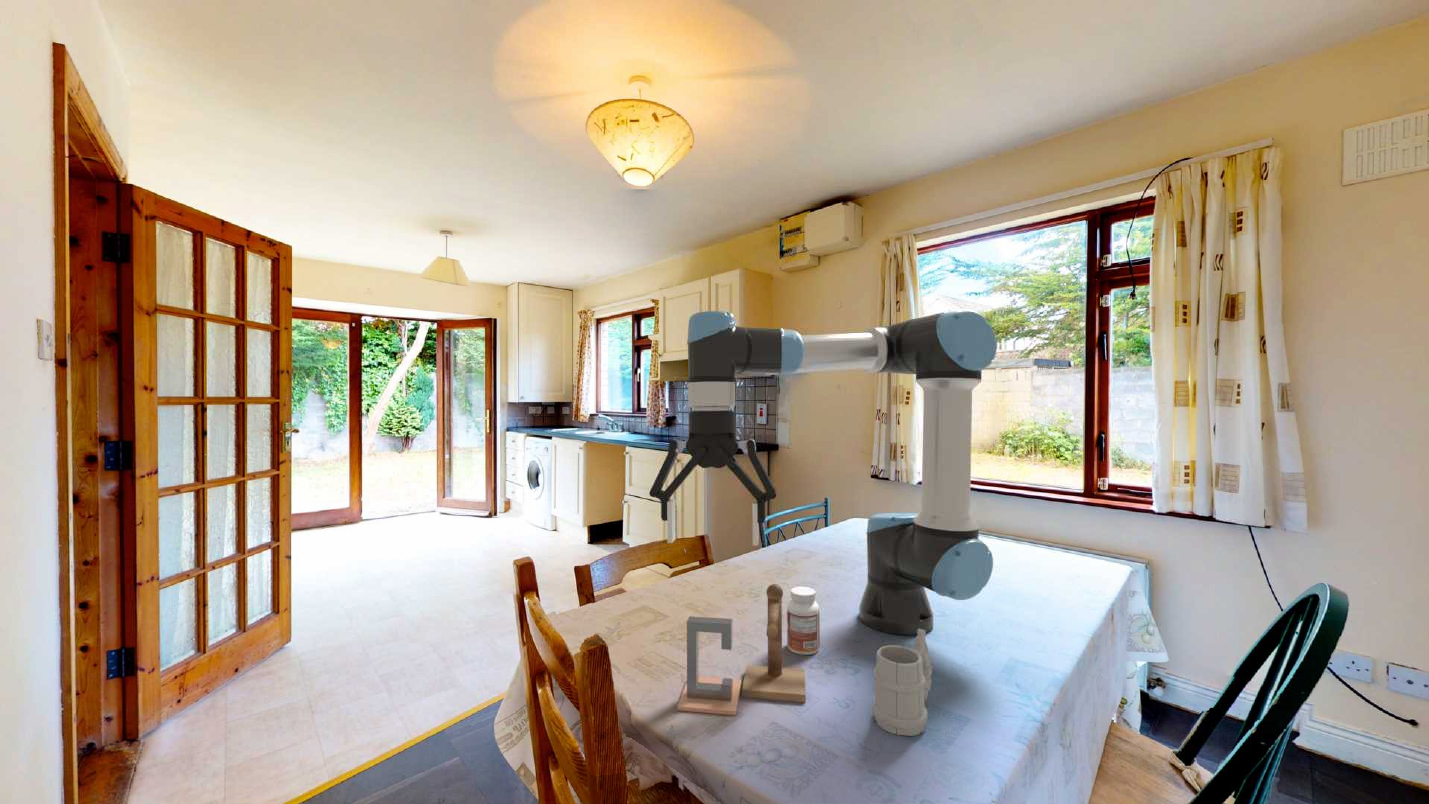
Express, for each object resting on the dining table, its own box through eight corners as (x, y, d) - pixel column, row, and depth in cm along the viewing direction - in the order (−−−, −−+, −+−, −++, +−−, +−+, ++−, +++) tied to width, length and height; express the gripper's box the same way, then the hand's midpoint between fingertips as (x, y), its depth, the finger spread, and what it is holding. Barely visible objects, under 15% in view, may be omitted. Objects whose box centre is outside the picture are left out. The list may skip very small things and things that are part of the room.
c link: (732, 694, 83) (732, 618, 83) (731, 701, 81) (730, 624, 81) (689, 690, 84) (689, 616, 84) (686, 697, 82) (686, 621, 82)
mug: (861, 718, 78) (861, 638, 78) (906, 692, 85) (906, 618, 85) (907, 745, 72) (907, 657, 72) (952, 714, 79) (952, 634, 79)
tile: (741, 683, 87) (741, 680, 87) (735, 715, 79) (735, 711, 79) (688, 679, 89) (688, 676, 89) (677, 710, 80) (677, 706, 80)
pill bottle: (796, 638, 105) (795, 582, 105) (824, 646, 101) (824, 589, 101) (781, 650, 100) (781, 592, 100) (811, 659, 96) (811, 598, 96)
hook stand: (746, 672, 91) (746, 579, 91) (804, 676, 90) (804, 582, 90) (738, 719, 78) (738, 610, 78) (806, 725, 76) (806, 614, 76)
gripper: (790, 408, 86) (791, 538, 85) (643, 409, 89) (644, 534, 89) (790, 409, 78) (792, 550, 78) (629, 410, 82) (630, 546, 82)
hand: (713, 542), depth 84 cm, fingers open, 13 cm apart
